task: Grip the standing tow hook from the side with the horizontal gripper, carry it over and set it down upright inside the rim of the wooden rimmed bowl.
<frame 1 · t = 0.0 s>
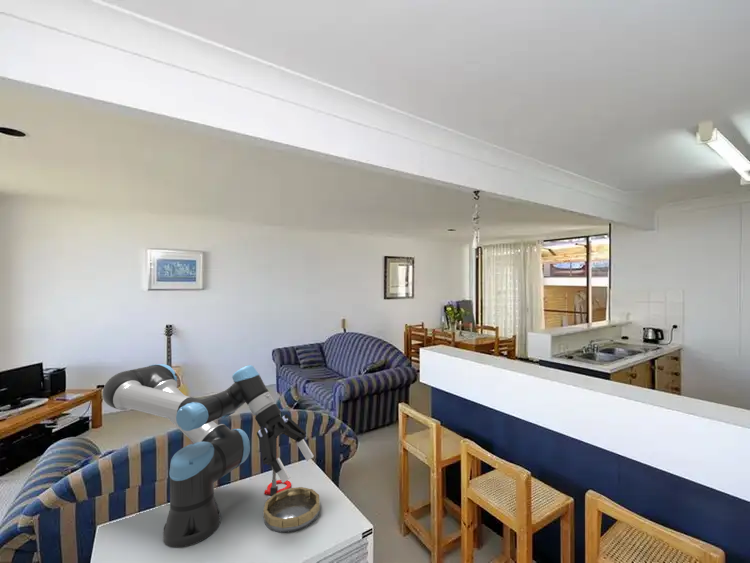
hand: (299, 469, 105), 15 cm above the table, tool tilted 35°, fingers open, 13 cm apart
wooden rimmed bowl: (292, 514, 107), on the table
tow hook: (278, 489, 122), on the table
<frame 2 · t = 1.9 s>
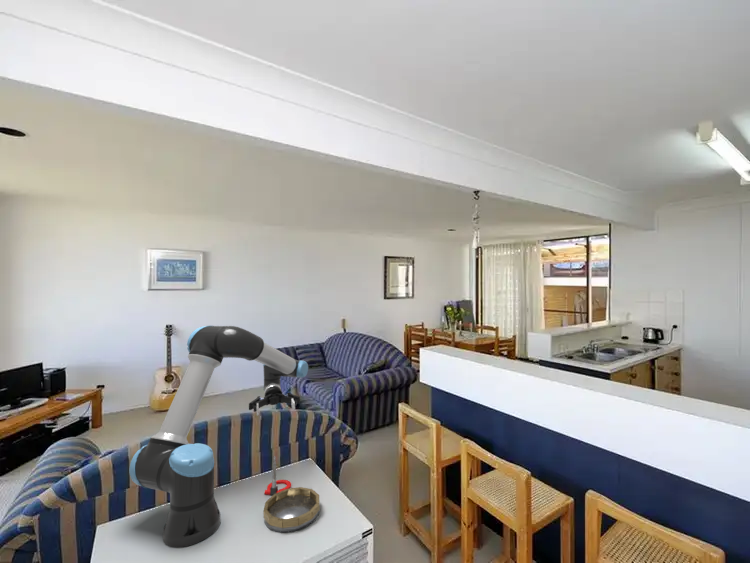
hand: (276, 409, 132), 25 cm above the table, tool horizontal, fingers open, 13 cm apart
nothing on the table moved.
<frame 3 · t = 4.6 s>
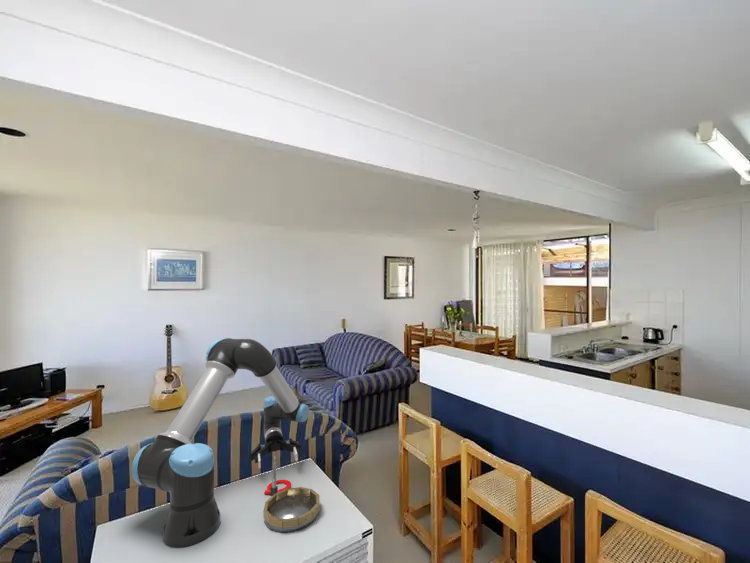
hand: (278, 461, 129), 7 cm above the table, tool horizontal, fingers open, 13 cm apart
nothing on the table moved.
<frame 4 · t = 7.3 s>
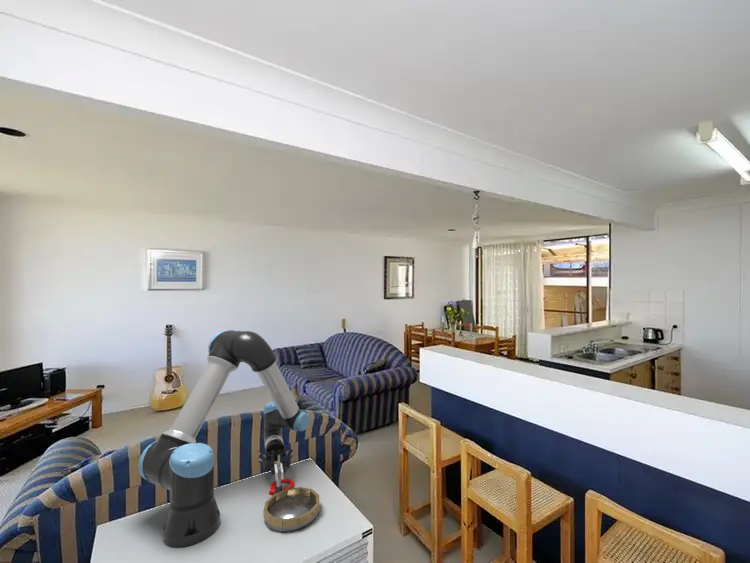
hand: (279, 476, 117), 7 cm above the table, tool horizontal, fingers closed on tow hook
tow hook: (282, 488, 123), on the table, touching gripper
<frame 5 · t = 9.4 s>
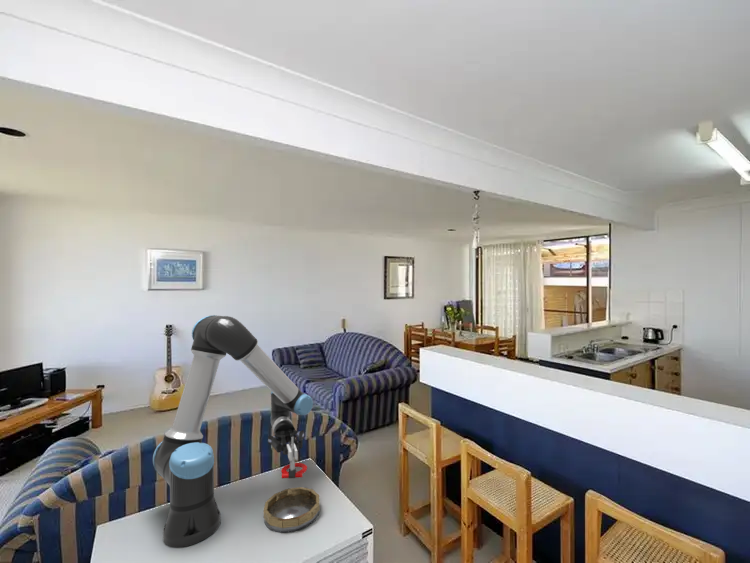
hand: (293, 455, 109), 18 cm above the table, tool horizontal, fingers closed on tow hook
tow hook: (294, 472, 114), point 10 cm above the table, touching gripper
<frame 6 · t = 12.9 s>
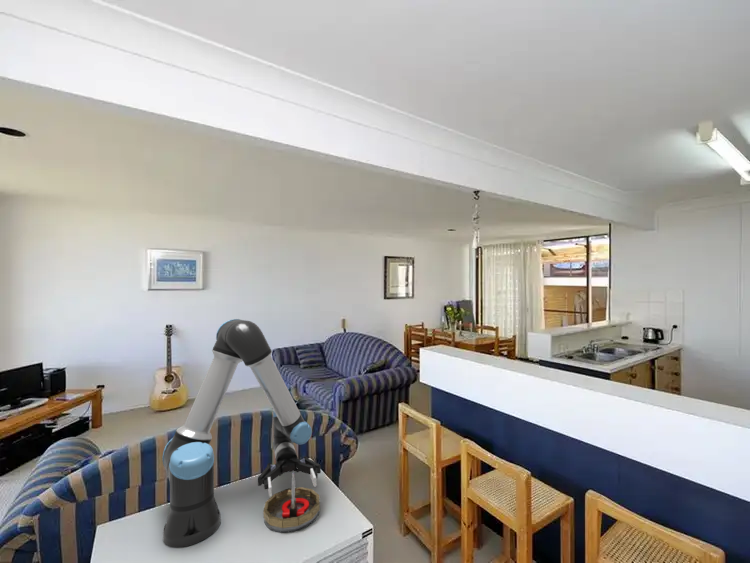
hand: (293, 487, 105), 10 cm above the table, tool horizontal, fingers open, 13 cm apart
tow hook: (295, 509, 108), point 1 cm above the table, touching wooden rimmed bowl
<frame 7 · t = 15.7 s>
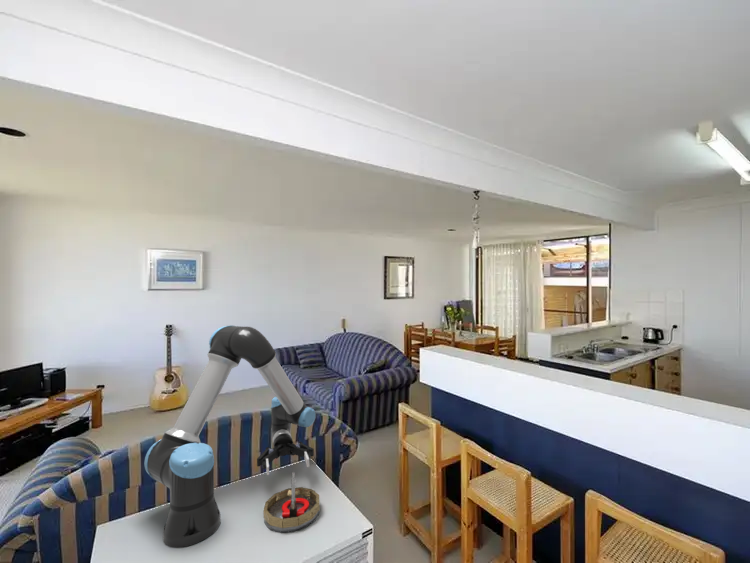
hand: (288, 467, 117), 10 cm above the table, tool horizontal, fingers open, 13 cm apart
nothing on the table moved.
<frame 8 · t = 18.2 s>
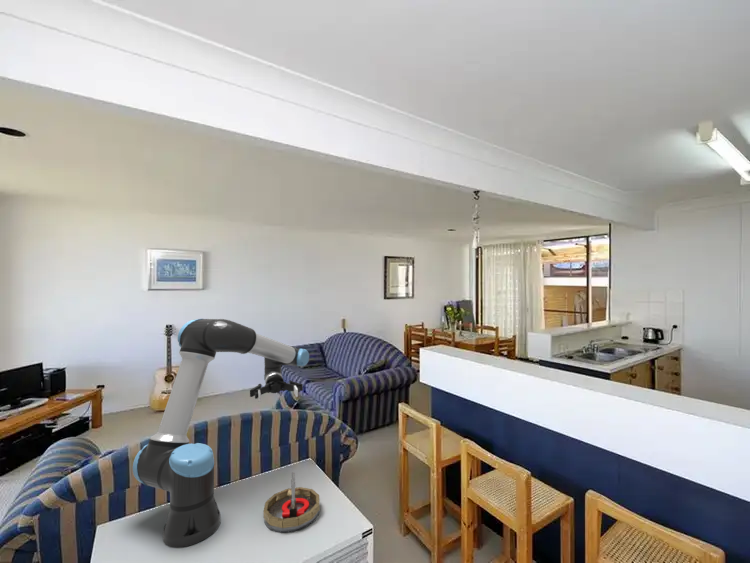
hand: (278, 395, 127), 32 cm above the table, tool horizontal, fingers open, 13 cm apart
nothing on the table moved.
at the end: tow hook 0.9 cm off-centre on the wooden rimmed bowl, point 1.3 cm above the wooden rimmed bowl's base; tow hook tilted 0°; the gripper is holding nothing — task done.
